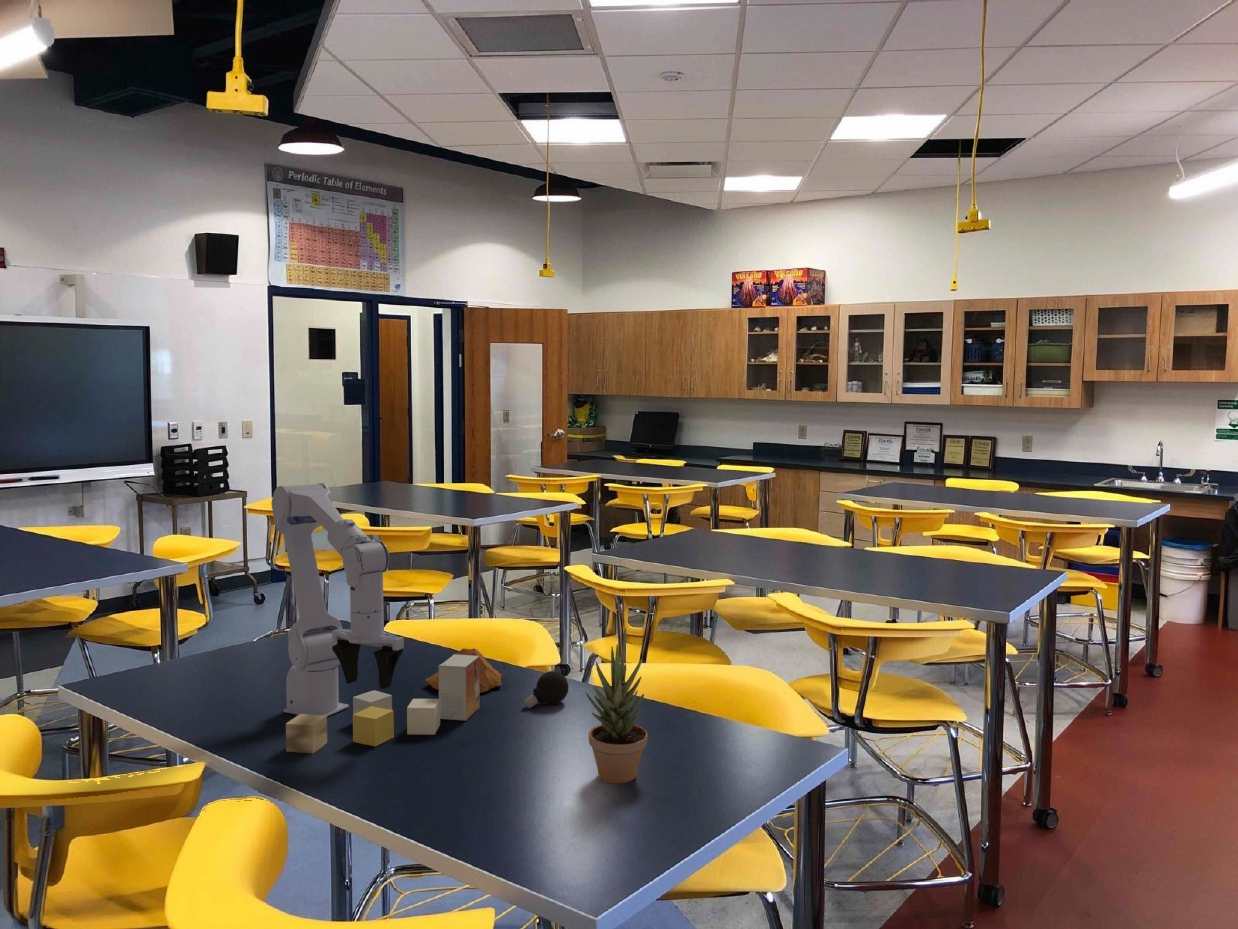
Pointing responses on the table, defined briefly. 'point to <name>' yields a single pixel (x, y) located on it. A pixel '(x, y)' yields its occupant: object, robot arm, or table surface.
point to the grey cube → (372, 701)
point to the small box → (459, 687)
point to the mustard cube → (373, 726)
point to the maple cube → (306, 733)
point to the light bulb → (548, 689)
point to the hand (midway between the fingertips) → (368, 684)
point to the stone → (487, 673)
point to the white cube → (423, 716)
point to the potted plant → (617, 724)
